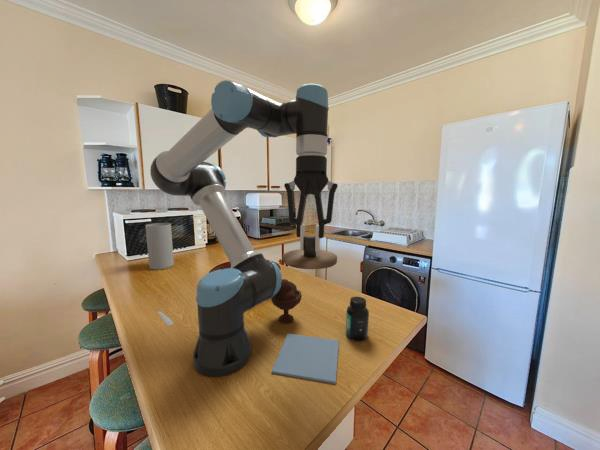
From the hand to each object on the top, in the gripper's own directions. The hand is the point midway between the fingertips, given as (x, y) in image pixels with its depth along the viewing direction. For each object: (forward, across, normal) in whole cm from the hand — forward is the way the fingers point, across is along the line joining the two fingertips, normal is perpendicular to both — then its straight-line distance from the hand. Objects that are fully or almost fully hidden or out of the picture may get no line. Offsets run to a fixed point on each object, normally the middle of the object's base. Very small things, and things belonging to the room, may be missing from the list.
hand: (309, 249), depth 62 cm
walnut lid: (+3, 0, 0) cm, 3 cm away
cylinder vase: (+31, +97, -56) cm, 116 cm away
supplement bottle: (+31, -13, -13) cm, 36 cm away
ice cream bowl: (+31, +11, -17) cm, 37 cm away
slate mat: (+30, 0, 0) cm, 30 cm away
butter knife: (+31, +59, -12) cm, 68 cm away
